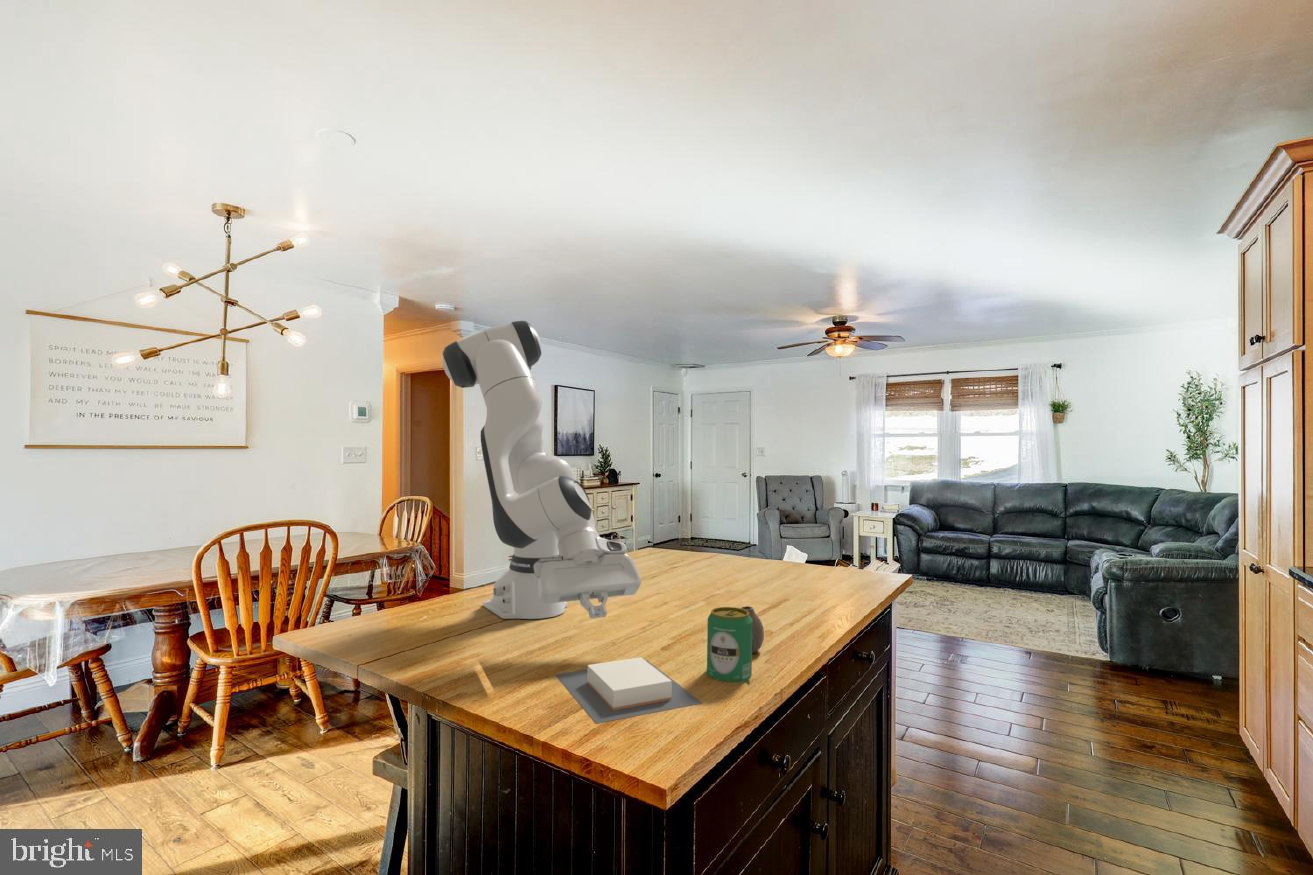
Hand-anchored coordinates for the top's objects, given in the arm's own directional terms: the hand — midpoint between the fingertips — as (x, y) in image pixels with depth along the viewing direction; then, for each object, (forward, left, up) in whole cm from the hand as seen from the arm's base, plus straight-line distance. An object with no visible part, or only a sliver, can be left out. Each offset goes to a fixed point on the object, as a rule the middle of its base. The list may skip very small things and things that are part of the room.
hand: (598, 616), depth 116 cm
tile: (+9, -3, -7) cm, 11 cm away
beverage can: (+21, +13, -10) cm, 26 cm away
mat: (+13, -5, -9) cm, 17 cm away
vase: (+14, +28, -10) cm, 33 cm away
